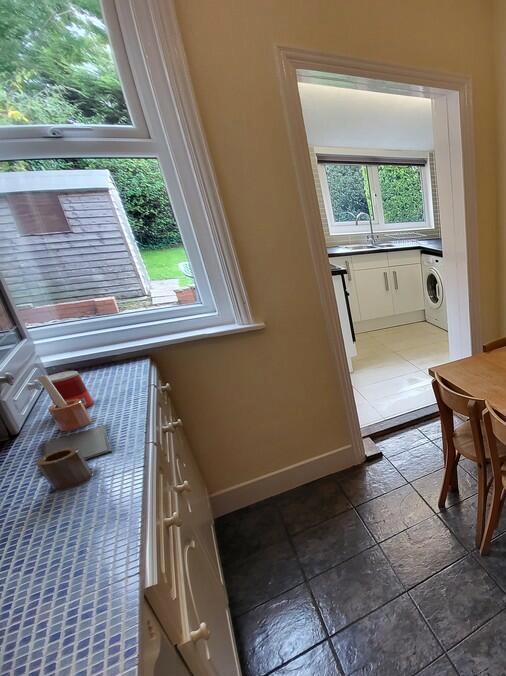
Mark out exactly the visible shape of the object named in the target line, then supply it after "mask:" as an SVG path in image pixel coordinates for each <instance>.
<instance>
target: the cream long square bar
mask: <svg viewBox="0 0 506 676" xmlns="http://www.w3.org/2000/svg"><path fill="white" fill-rule="evenodd" d="M47 376H48V375H47V374H45V375H42V376H39V377H37V380H38V381H39V383H40V384H41V386H42V387H43V388H44V389H45V391H46V393H47V392H48V393H47V394H48V396H49V395H50V396H49V398H50V397H51V398H52V399H53V401H54V402H55V404H56V405H57V406H58V408H61V407H65V406H68V405H67V404H66V402H65V401H64V399H63V398H62V396H61V395H60V394H59V392H58V391H57V389H56V388H55V387H54V385H53V384H52V382H51V381H50V379H49V378H48V377H47ZM51 398H50V399H51ZM52 399H51V400H52ZM53 401H52V402H53Z"/></svg>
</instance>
